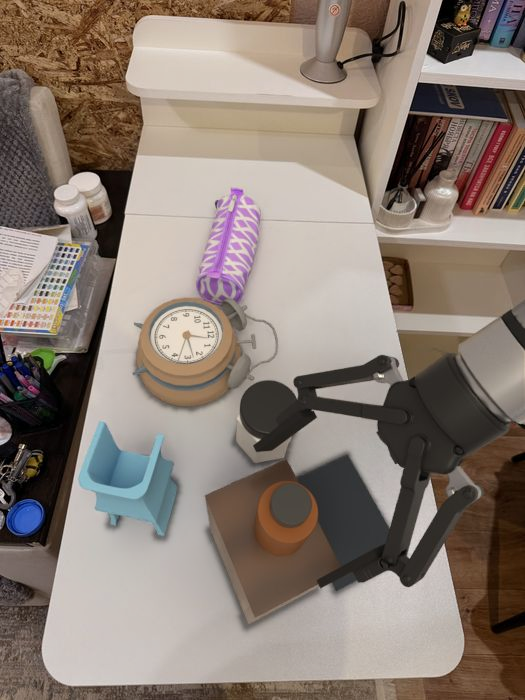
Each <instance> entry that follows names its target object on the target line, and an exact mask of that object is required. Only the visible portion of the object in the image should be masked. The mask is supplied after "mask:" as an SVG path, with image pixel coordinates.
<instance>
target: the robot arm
mask: <svg viewBox="0 0 525 700" xmlns="http://www.w3.org/2000/svg"><path fill="white" fill-rule="evenodd" d="M457 351H458V354H457V353H455V352H451V353H450V352H446V353H445V354H443V355H442V356H441V357H439V358H438V359H436V360H435V361H433V362H432V363H431V364H429V365H428V366H426V367H425V368H423V369H422V370H420V371H419V372H417V373H416V374H415V375H413V376H412V377H411V378H409V379H405V380H404V378H403V376H402V374H401V372H400V370H399V367H400V361H399V359H398V358H397V357H394V356H389V355H385V354H380V355H377V356H376V357H374V358H372V359H370V360H369V361H367V362H366V363H364V364H359V365H354V366H348V367H343V368H338V369H330V370H325V371H320V372H314V373H307V374H301V375H297V376H295V377H294V379H293V386H294V388H296V390H297V400H296V402H295V403H293V404H292V405H291V406H289V407H288V408H287V409H286V410H284V411H283V412H282V413H280V414H279V415H278V416H277V418H276V421H277V423H278V425H279V426H278V427H277V428H275V429H274V430H273V431H271V432H270V433H269V434H267V435H266V436H265V437H264V438H262V439H261V440H260V441H258V442H257V443H256V444H254V445H253V447H254V449H255V451H256V452H264V451H272V450H274V449H275V448H276V447H278V446H279V445H281V444H282V443H283V442H285V441H286V440H287V439H289V438H290V437H291V436H292V437H293V436H294V435H296V434H297V433H299V432H300V431H301V430H302V429H304V428H305V427H307V426H308V425H309V424H310V423H312V422H313V421H315V420H316V419H317V418H318V416H317V414H316V412H315V411H318V412H323V413H324V412H325V413H331V414H336V415H343V416H349V417H355V418H361V419H365V420H370V421H371V420H372V421H377V423H376V428H377V429H376V430H377V431H376V432H375V433H376V435H377V436H378V438H379V440H380V441H381V442H382V443H383V444H384V445H385V446H386V447H387V450H388V453H389V456H390V458H391V459H392V462H393V463H394V465H398V466H400V467H401V468H402V474H401V478H400V481H399V485H400V489H399V493H398V496H397V500H396V504H395V508H394V512H393V515H392V519H391V521H390V526H389V533H388V536H387V540H386V543H385V544H383V545H381V546H379V547H377V548H375V549H373V550H371V551H369V552H367V553H365V554H363V555H362V556H360V557H358V558H356V559H354V560H352V561H351V562H349V563H347V564H345V565H343V566H341V567H340V568H338V569H336V570H334V571H332V572H330V573H329V574H327V575H325V576H323V577H321V578H319V579H318V580H316V581H317V583H318V585H319V587H318V588H319V589H323V588H325V587H326V586H328V585H330V584H333V583H332V582H334V581H336V580H338V579H340V578H342V577H344V576H345V575H347V574H349V573H351V572H353V573H354V575H355V577H356V579H357V581H356V582H358V583H365V582H368V581H369V580H371V579H373V578H376V577H377V576H380V575H382V574H383V573H385V572H392V573H394V574H395V575H396V576H397V577H398V578H399V581H400V583H401V585H402V586H403V587H405V588H411V587H413V586H414V585H416V584H418V583H419V582H420V581H421V580H423V579H424V578H425V576H426V574H427V573H428V571H429V569H430V568H431V566H432V564H433V563H434V561H435V559H436V558H437V557H438V555H439V553H440V551H441V550H442V548H443V546H444V545H445V543H446V541H447V540H448V538H449V536H450V535H451V533H452V531H453V530H454V528H455V526H456V524H457V523H458V521H459V519H460V518H461V517H462V515H463V513H464V511H465V510H466V509H467V508H468V507H470V506H471V505H473V504H474V503H476V502H477V501H478V500H480V499H481V498H483V496H484V494H485V490H484V487H483V486H482V485H481V484H479V483H477V482H473V480H472V479H471V478H470V477H469V475H468V474H467V473H466V472H465V471H464V469H463V468H462V467H461V465H462V463H463V462H464V460H465V459H466V458H467V457H468V456H470V455H472V454H473V453H476V452H477V451H479V450H480V449H482V448H483V447H485V446H487V445H489V444H490V443H492V442H494V441H496V440H498V439H499V438H500V437H502V436H504V435H506V434H507V433H509V431H510V428H511V422H512V423H514V424H518V425H519V424H520V425H523V424H525V299H523V300H522V301H521V302H519V303H518V304H517V305H515V306H514V307H512V308H510V309H509V310H508V311H506V312H504V313H503V314H502V315H499V316H498V317H496V318H495V319H494V320H492V321H491V322H489V323H488V324H486V325H485V326H483V327H482V328H480V329H479V330H478V331H476V332H475V333H473V334H472V335H470V336H469V337H467V338H466V339H465V340H463V341H461V342H460V343H459V344H458V350H457ZM372 381H374V382H376V383H379V384H388V385H389V388H388V390H387V393H386V396H385V398H384V401H383V404H375V403H366V402H358V401H353V400H345V399H338V398H330V397H324V396H318V395H317V390H319V389H320V390H321V389H326V388H333V387H339V386H340V387H341V386H346V385H352V384H353V385H354V384H361V383H366V382H372ZM292 437H291V438H292ZM432 474H435V475H436V474H437V475H446V476H447V477H448V479H449V482H448V484H447V485H446V487H445V494H446V496H447V499H445V500H444V501H443V502H442V504H441V505H440V506H439V508H438V510H437V511H436V513H435V515H434V516H433V518H432V519H431V522H430V523H429V525H428V526H427V528H426V530H425V532H423V535H422V536H421V539H420V540H419V541H418V544H417V545H416V547H415V548H414V550H413V552H412V553H411V555H410V557H408V554H409V549H410V546H411V543H412V539H413V535H414V531H415V528H416V524H417V521H418V517H419V514H420V510H421V506H422V502H423V499H424V495H425V492H426V489H427V488H428V486H429V484H430V481H431V476H432Z"/></svg>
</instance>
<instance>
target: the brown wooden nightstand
mask: <svg viewBox="0 0 525 700" xmlns="http://www.w3.org/2000/svg"><path fill="white" fill-rule="evenodd" d="M297 478H298V477H297V476H296V474H295V472H294V471H293V468H292V467H291V464H290V462H289V460H288V459H287V458H285V459H282V460H280V461H278V462H276V463H274V464H272V465H269V466H267V467H264V468H263V469H261V470H258V471H256V472H253V473H252V474H249V475H247V476H245V477H243V478H240V479H239V480H236V481H233V482H232V483H229V484H227V485H225V486H222V487H220V488H218V489H216V490H214V491H211V492H209V493H207V494H205V495H204V500H205V505H206V512H207V517H208V524H209V531H210V533H211V536H212V538H213V540H214V543H215V545H216V548H217V550H218V553H219V555H220V558H221V560H222V563H223V565H224V568H225V570H226V573H227V575H228V578H229V579H230V583H231V585H232V587H233V590H234V592H235V595H236V598H237V601H238V602H239V605H240V607H241V610H242V612H243V615H244V617H245V619H246V622H247V624H248V625H250V624H252V623H254V622H256V621H258V620H259V619H262V618H263V617H265V616H267V615H269V614H271V613H273V612H274V611H276V610H278V609H280V608H282V607H284V606H286V605H287V604H289V603H292V602H294V601H295V600H297V599H299V598H301V597H303V596H304V595H306V594H308V593H310V592H312V591H315V590H316V589H317V588H320V587H319V585H318V583H317V581H316V580H318V579H319V578H321V577H323V576H325V575H327V574H329V573H330V572H332V571H334V570H336V569H338V568H340V567H341V566H340V564H339V562H338V560H337V558H336V556H335V554H334V552H333V550H332V548H331V546H330V544H329V542H328V540H327V538H326V536H325V534H324V532H323V530H322V528H321V526H320V524H319V522H318V520H317V523H316V526H315V528H314V529H313V531H312V532H311V534H310V535H309V536H308V538H307V539H306V540H305V542H304V543H303V544H302V546H301V547H300V548H299V549H298V550H297V551H296V552H294V553H292V554H290V555H287V556H276V555H272V554H270V553H268V552H267V551H265V550H264V549H263V548H262V547H261V546H260V544H259V543H258V541H257V539H256V536H255V532H254V524H255V518H256V514H257V509H258V504H259V501H260V498H261V496H262V494H263V493H264V492H265V490H266V489H267V488H269V487H270V486H271V485H273V484H275V483H278V482H282V481H292V482H296V483H299V482H298V480H297Z"/></svg>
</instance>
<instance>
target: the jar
mask: <svg viewBox="0 0 525 700" xmlns="http://www.w3.org/2000/svg"><path fill="white" fill-rule="evenodd" d="M297 399H298V397H297V395H296V394H295V393H294V391H293V390H292V389H291V388H290V387H289V386H287V385H286V384H284V383H283V382H280V381H277V380H273V379H272V380H271V379H269V380H268V379H267V380H266V379H265V380H260V381H257V382H254V383H253V384H251V385H250V386H249V387H248V388H247V389H245V391H244V392H243V394H242V395H241V399H240V402H239V412H238V414H237V417H236V429H235V431H236V432H235V433H236V435H235V442H236V443H237V445H238V446H239V447H240V448H241V449H242V450H243V451H244V452H245V454H246V455H247V456H248V457H249V458H250V460H252V463H255V464H258V463H262V462H269V461H274V460H275V461H276V460H280V459H284V457H285V456H286V452H287V450H288V446H289V443H291V440H292V437H293V436H291V437H290V438H289V439H287V440H286V441H285V442H283V443H282V444H281V445H279V446H278V447H276V448H275V449H274V450H272V451H264V452H256V451H255V449H254V447H253V445H254V444H256V443H257V442H258V441H260V440H261V439H262V438H264V437H265V436H266V435H267V434H269V433H270V432H271V431H273V430H274V429H275V428H277V427H278V426H279V425H278V423H277V421H276V418H277V416H278V415H279V414H280V413H282V412H283V411H284V410H286V409H287V408H288V407H289V406H291V405H292V404H293V403H295V402H296V400H297Z"/></svg>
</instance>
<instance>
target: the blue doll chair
mask: <svg viewBox="0 0 525 700" xmlns="http://www.w3.org/2000/svg"><path fill="white" fill-rule="evenodd" d="M164 439H165V434H162V433H157V434H156V437H155V439H154V444H153V447H152V449H151V453H150V455H146V454H145V455H144V454H140V453H136V452H131V451H127V450H124V449H123V450H122V449H121V448H119V447H118V445H117V443H116V441H115V439H114V437H113V435H112V433H111V430H110V428H109V427H108V425H107V423H106V422H105V421H100V420H99V421H98V423H97V425H96V428H95V431H94V433H93V435H92V438H91V441H90V444H89V446H88V449H87V452H86V454H85V457H84V460H83V462H82V464H81V467H80V470H79V474H78V477H77V482H78V485H79V486H80V487H81V488H82V489H84V490H86V491H90V492H93V493H95V496H96V500H95V504H94V510H95V511H96V512H101V513H106V514H107V515H109V517H110V525H111V526H117V523H118V520H119V517H120V516H121V517H126V518H131V519H136V520H139V521H144V522H149V523H151V524H152V525H153V527H154V529H155V531H156V533H157V535H158V536H161V537H165V535H166V531H167V528H168V525H169V521H170V517H171V514H172V510H173V507H174V502H175V500H176V495H177V491H178V486H177V484H176V482H175V481H174V480H172V473H173V469H174V465H175V462H174V460H171V459H170V460H169V459H167V458H165V457H164V456H163V455H162V446H163V442H164Z"/></svg>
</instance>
